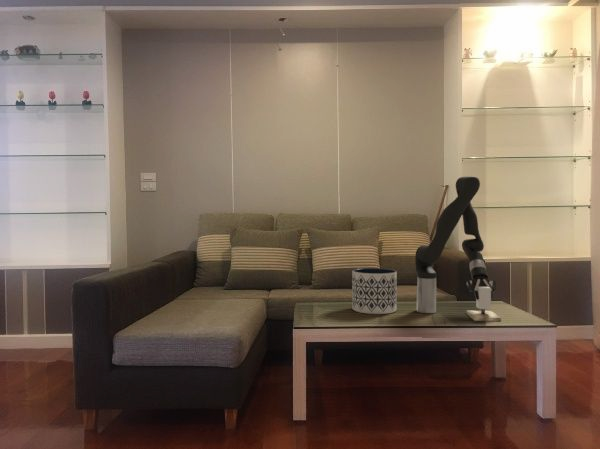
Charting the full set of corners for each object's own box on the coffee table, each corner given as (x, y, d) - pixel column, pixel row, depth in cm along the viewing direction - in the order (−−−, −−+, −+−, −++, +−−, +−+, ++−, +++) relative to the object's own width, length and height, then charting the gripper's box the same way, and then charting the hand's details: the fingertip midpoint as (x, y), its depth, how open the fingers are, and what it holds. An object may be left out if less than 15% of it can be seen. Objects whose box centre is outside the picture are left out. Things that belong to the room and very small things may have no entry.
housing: (479, 309, 236) (479, 288, 236) (476, 306, 241) (476, 286, 241) (490, 309, 236) (490, 288, 235) (487, 306, 241) (487, 286, 241)
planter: (346, 312, 249) (346, 271, 249) (360, 304, 269) (360, 267, 269) (390, 316, 240) (390, 274, 239) (401, 308, 260) (401, 269, 259)
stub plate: (474, 320, 231) (474, 308, 231) (466, 313, 247) (466, 302, 247) (501, 321, 230) (501, 309, 230) (491, 313, 246) (491, 302, 246)
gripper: (464, 265, 246) (470, 294, 235) (494, 266, 245) (501, 294, 233) (462, 275, 251) (467, 303, 240) (491, 275, 250) (498, 303, 238)
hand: (484, 298), depth 237 cm, fingers closed on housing, 5 cm apart
